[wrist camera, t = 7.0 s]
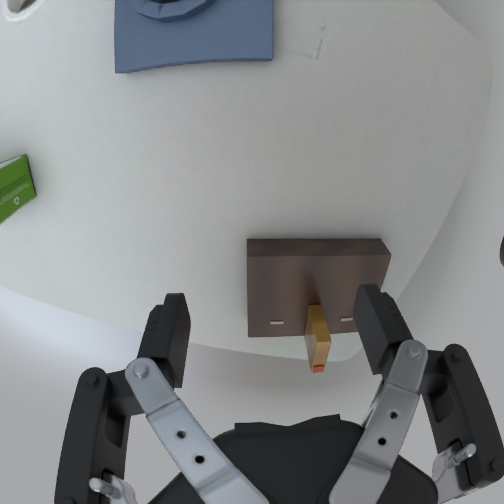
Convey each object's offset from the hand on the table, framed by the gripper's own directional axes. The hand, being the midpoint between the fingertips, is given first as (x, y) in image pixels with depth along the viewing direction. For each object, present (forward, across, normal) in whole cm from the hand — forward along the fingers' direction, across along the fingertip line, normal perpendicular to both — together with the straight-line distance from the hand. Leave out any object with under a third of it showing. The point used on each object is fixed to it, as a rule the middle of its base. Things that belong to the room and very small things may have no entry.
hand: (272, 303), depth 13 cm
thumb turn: (+12, -5, +14) cm, 19 cm away
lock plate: (+15, -6, +11) cm, 19 cm away
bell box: (+15, +4, -16) cm, 22 cm away
